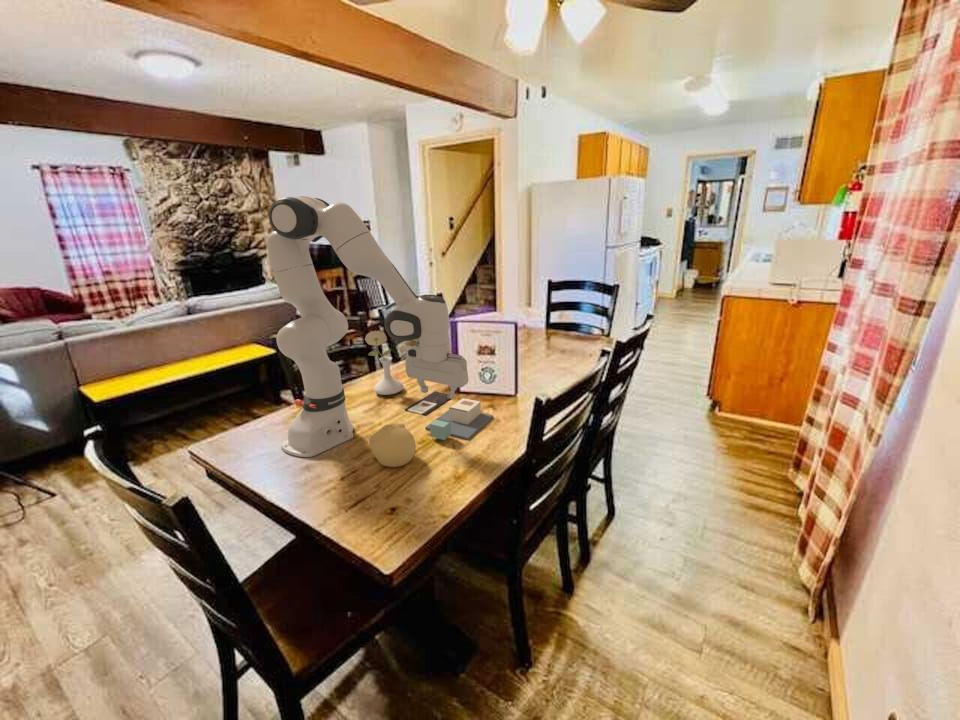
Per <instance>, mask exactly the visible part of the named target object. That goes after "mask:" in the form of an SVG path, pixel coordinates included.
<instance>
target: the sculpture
mask: <svg viewBox="0 0 960 720" xmlns="http://www.w3.org/2000/svg"><path fill="white" fill-rule="evenodd" d="M368 442H369V444H370V445H369V447H370V451H371V452H372V453H373V455H374V457H375V458H376V460H377V462H379V463H380V465H382V466H385V467H389V468H398V467H402V466H405V465H407V464H408V463H409V462H411V460H412V459H413V457H414V456H415V452H416V445H417V444H416V440H415V438H414V435H413V434H412V432H410V430H409V429H408V428H406V426H405V424H404V423H396V424H395V423H394V424H385V425H384V426H382V427H381V428H380V429H379V430H378V431H376V432H374V433H373V434H371V435H370V437H369V438H368Z"/></svg>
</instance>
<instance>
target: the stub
mask: <svg viewBox="0 0 960 720" xmlns="http://www.w3.org/2000/svg"><path fill="white" fill-rule="evenodd" d="M438 418H439V417H437V418H436V419H434V420H433V421H431V422H430V423H429V424H430V430H429V431H430V437H431V438H434V439H438V440H442V441H445V440H446V439H448V438H449V437H451V436H450V435H451V421H447V420H442V419H438Z"/></svg>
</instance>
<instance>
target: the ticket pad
mask: <svg viewBox="0 0 960 720" xmlns="http://www.w3.org/2000/svg"><path fill="white" fill-rule="evenodd" d="M481 407H482V403H481V401H478V400H473V399H468V398H463V397H462V398H461V399H459V400H458V401H456V403H454V404H453V405H451V406H450V407H448V410H446V411H444V413H443V414H441V415H439V416H438V417H437V418H438V419H442V420H447V421H451V435H450V436H449V437H455V438H459V439H462V440H466V441H469V440H470V439H471V438H472V437H473V436H475V435H476V434H477V433H478V432H479V431H480V430H481V429H483V427H485V425H487V424H488V423H489V422H490V421H491V420H492V419H493V418H494V414H489V413H486V412H485V413H484V412H482V408H481ZM425 430H426V431H430V423H429V424H428V425H426V426H425Z"/></svg>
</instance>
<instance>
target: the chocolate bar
mask: <svg viewBox="0 0 960 720" xmlns="http://www.w3.org/2000/svg"><path fill="white" fill-rule="evenodd" d="M450 400H451V399H450V398H447V393H444V392H439V391H433V392H431V393H430V394H428V395H426V396H424V397H423V398H422V399H420V400H418V401H416V402H414V403H413V404H411V405H409V406H408V407H406V408H404V411H406V412H409V413H413V414H417V415H421V416H424V417H426V416H428V415H429V414H430V413H432V412H434V411H435V410H436V409H438V408H440V407H441V406H442V405H443V404H445V403H447V402H449V401H450Z"/></svg>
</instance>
